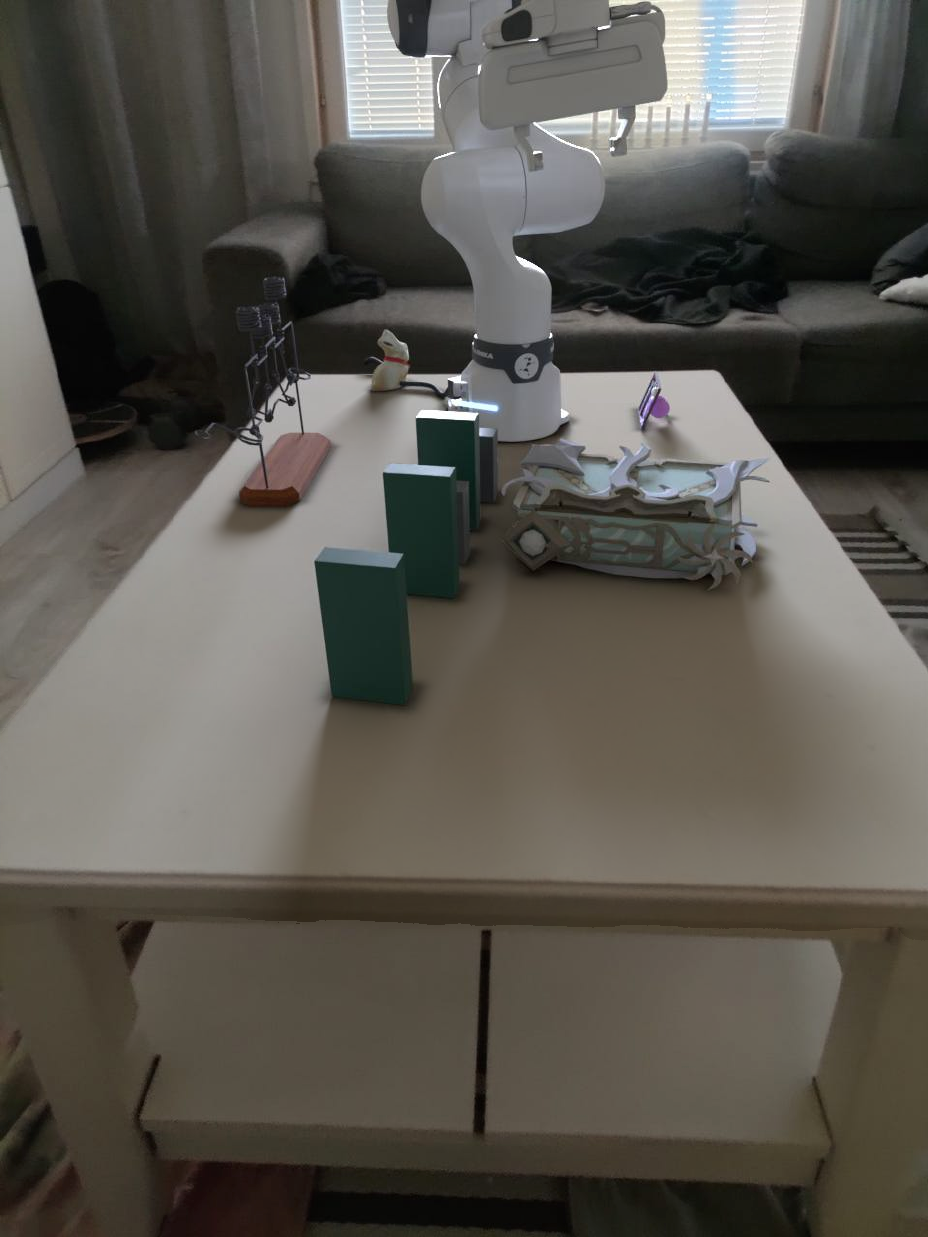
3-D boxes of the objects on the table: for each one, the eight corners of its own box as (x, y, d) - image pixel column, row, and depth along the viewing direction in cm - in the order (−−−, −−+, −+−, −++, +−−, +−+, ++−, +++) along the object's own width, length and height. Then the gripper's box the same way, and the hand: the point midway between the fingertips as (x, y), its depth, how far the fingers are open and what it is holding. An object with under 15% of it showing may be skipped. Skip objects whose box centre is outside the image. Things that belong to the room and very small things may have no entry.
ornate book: (492, 582, 99) (772, 601, 92) (488, 503, 94) (784, 517, 87) (527, 500, 118) (763, 510, 111) (526, 430, 113) (773, 436, 106)
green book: (426, 517, 112) (421, 409, 105) (480, 521, 111) (479, 412, 103) (421, 526, 110) (415, 417, 102) (476, 530, 108) (474, 420, 101)
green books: (398, 581, 98) (389, 462, 91) (459, 586, 97) (456, 466, 89) (331, 696, 80) (313, 560, 73) (405, 705, 79) (395, 568, 72)
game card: (650, 369, 141) (654, 386, 133) (681, 380, 141) (686, 398, 134) (633, 407, 144) (636, 427, 137) (663, 418, 145) (667, 438, 137)
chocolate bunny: (416, 387, 158) (413, 329, 152) (373, 392, 156) (368, 334, 150) (408, 378, 162) (404, 322, 157) (366, 383, 160) (361, 327, 155)
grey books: (439, 489, 119) (436, 425, 115) (497, 493, 118) (497, 428, 113) (397, 558, 103) (392, 486, 98) (464, 564, 101) (462, 491, 96)
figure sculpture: (283, 434, 139) (259, 265, 126) (337, 434, 138) (319, 265, 125) (211, 535, 109) (170, 328, 96) (279, 536, 108) (248, 328, 95)
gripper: (654, 0, 95) (659, 145, 102) (467, 33, 94) (484, 176, 101) (674, -6, 89) (677, 147, 96) (474, 28, 88) (493, 180, 95)
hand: (577, 163), depth 99 cm, fingers open, 8 cm apart
